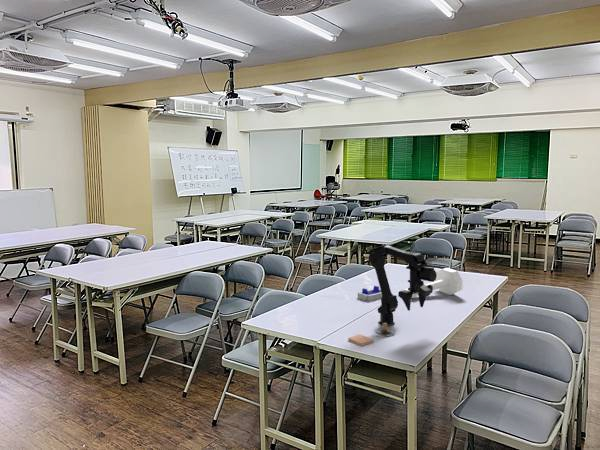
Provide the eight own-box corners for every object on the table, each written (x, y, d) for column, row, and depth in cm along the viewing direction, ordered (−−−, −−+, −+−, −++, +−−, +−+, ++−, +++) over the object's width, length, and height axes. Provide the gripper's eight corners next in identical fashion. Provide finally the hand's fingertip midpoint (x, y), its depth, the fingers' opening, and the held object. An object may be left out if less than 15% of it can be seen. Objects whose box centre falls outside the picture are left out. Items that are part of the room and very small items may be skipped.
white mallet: (392, 281, 303) (436, 268, 314) (399, 307, 302) (443, 293, 313) (411, 280, 280) (458, 266, 291) (419, 308, 279) (466, 293, 290)
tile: (359, 337, 227) (348, 341, 223) (359, 334, 227) (348, 337, 222) (373, 342, 220) (361, 346, 216) (373, 339, 220) (361, 343, 215)
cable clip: (367, 299, 292) (367, 290, 291) (362, 297, 295) (362, 288, 295) (380, 296, 299) (380, 287, 298) (375, 294, 302) (375, 285, 302)
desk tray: (356, 298, 295) (356, 292, 294) (376, 294, 305) (376, 288, 305) (368, 302, 287) (368, 296, 286) (388, 297, 297) (388, 291, 297)
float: (375, 333, 233) (375, 322, 232) (382, 330, 236) (382, 320, 235) (387, 337, 227) (387, 326, 226) (394, 335, 230) (394, 324, 229)
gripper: (414, 284, 218) (414, 316, 219) (440, 278, 228) (440, 309, 230) (397, 280, 227) (397, 310, 229) (423, 274, 237) (423, 304, 239)
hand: (415, 308), depth 231 cm, fingers open, 9 cm apart
